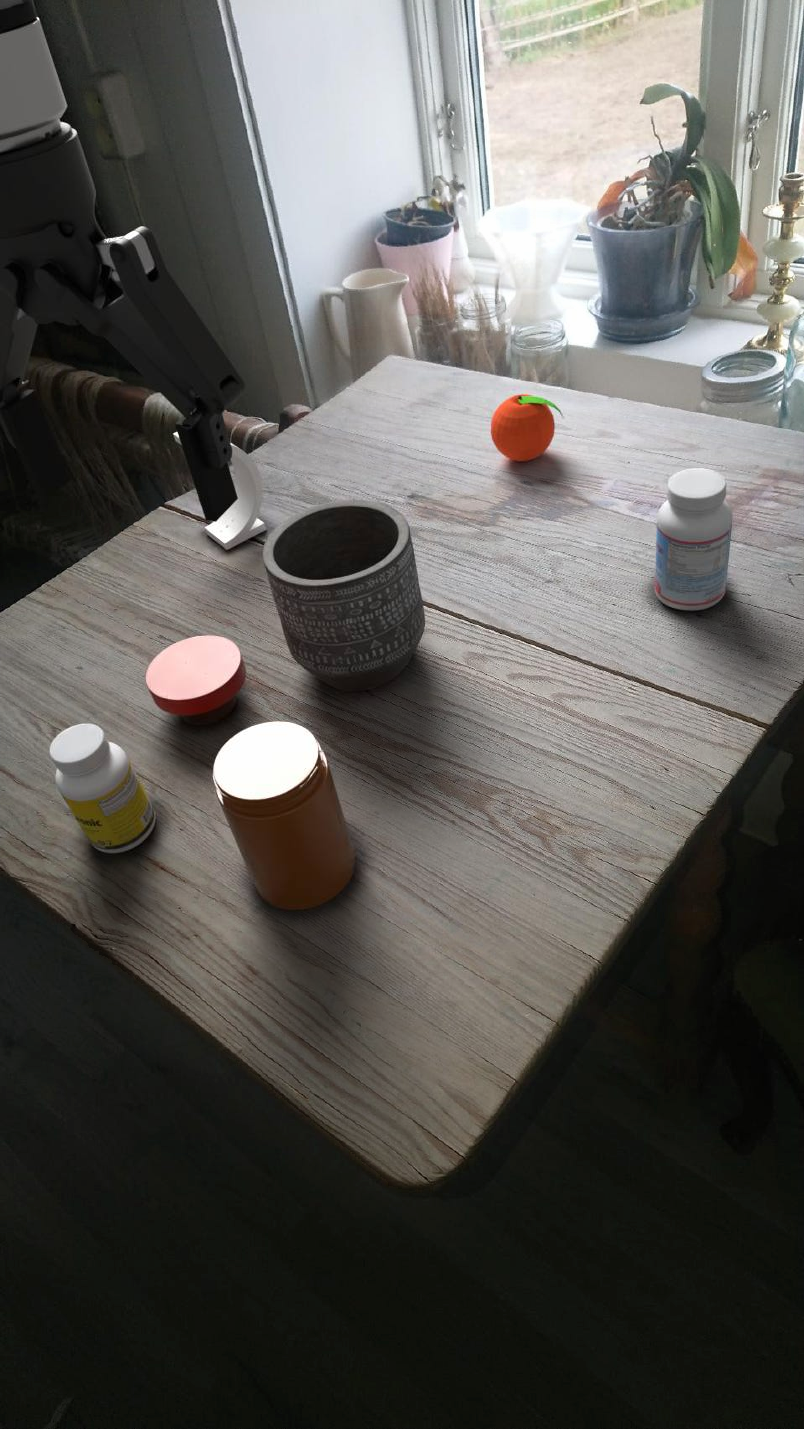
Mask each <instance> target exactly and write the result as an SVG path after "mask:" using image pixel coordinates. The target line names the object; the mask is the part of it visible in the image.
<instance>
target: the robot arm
mask: <svg viewBox="0 0 804 1429" xmlns="http://www.w3.org/2000/svg"><path fill="white" fill-rule="evenodd" d="M67 108H68V104H67V100H66V97H65V95H64V91H63V89H62V84H61V81H60V79H59V76H58V73H57V69H56V66H55V63H54V61H53V57H52V54H51V52H50V49H49V45H48V42H47V38H46V35H45V33H44V30H43V26H42V23H41V20H40V18H39V17H38V13H37V10H36V6H35V3H34V0H0V425H1V427H2V430H3V432H4V433H5V436H6V438H7V441H8V442H9V443H10V445H11V446H12V447H13V449H16V451H17V453H18V456H19V457H20V460H21V462H22V465H23V467H24V469H25V471H26V473H27V475H28V478H29V480H30V483H31V485H32V487H33V489H34V491H35V494H36V495H37V497H38V500H45V501H49V500H50V499H51V498H52V497H53V496H54V495H55V494H57V493H58V492H59V491H60V490H61V489H62V488H64V487H65V486H66V485H67V484H68V483H69V482H71V481H72V480H73V478H72V476H71V473H70V471H69V468H68V466H67V464H66V460H65V459H64V456H63V453H62V451H61V449H60V447H59V445H58V442H57V440H56V437H55V435H54V433H53V430H52V428H51V424H50V423H49V420H48V418H47V416H46V414H45V411H44V409H43V407H42V405H41V401H40V399H39V397H38V395H37V392H36V390H35V389H25V390H22V392H20V391H19V390H20V389H21V388H23V387H24V386H25V385H27V384H28V383H29V381H30V380H29V379H26V377H25V375H26V371H27V368H28V367H27V366H28V363H29V359H30V355H31V351H32V348H33V344H34V340H35V336H36V333H37V330H38V325H48V324H51V323H53V322H57V323H60V324H64V325H65V326H79V325H82V326H83V327H84V328H85V329H86V330H87V331H88V332H89V333H91V334H92V335H94V336H96V337H103V338H105V339H106V340H107V342H109V344H111V345H112V346H113V347H114V349H116V350H117V351H118V353H119V354H121V356H123V357H124V358H125V359H126V360H127V361H128V362H129V363H130V364H131V366H133V367H134V368H135V369H136V370H137V371H138V372H139V374H141V375H142V376H143V377H144V378H145V380H147V381H148V382H149V383H150V385H152V387H154V388H155V389H156V391H158V392H159V394H161V395H162V396H163V397H164V398H165V400H167V401H168V402H169V403H170V404H171V405H172V406H173V408H175V409H176V410H177V411H178V413H179V414H181V415H182V417H181V418H180V419H179V420H178V421H176V422H175V424H174V426H175V429H176V432H177V433H178V436H179V439H180V442H181V444H180V445H181V448H182V451H183V455H184V457H185V461H186V463H187V466H188V470H189V472H190V476H191V479H192V483H193V485H194V489H195V491H196V494H197V497H198V501H199V503H200V506H201V510H202V513H203V516H204V519H205V521H206V522H216V521H217V520H218V519H219V518H220V517H221V516H222V515H223V514H224V513H225V512H226V511H227V510H228V509H229V508H230V507H231V506H232V504H233V503H234V502H235V501H236V500H237V499H238V497H237V494H236V490H235V487H234V483H235V482H234V481H233V476H232V474H231V470H230V467H229V463H228V462H229V461H231V460H230V459H231V458H232V447H231V443H232V442H231V440H230V437H229V433H228V430H227V426H226V422H225V419H224V415H223V413H224V412H225V411H226V410H227V409H229V408H230V407H231V406H232V405H233V404H234V403H235V402H236V401H237V400H239V398H240V397H241V396H243V394H245V392H246V389H247V388H246V383H245V382H244V379H243V378H242V377H241V376H240V374H239V372H238V370H237V369H236V368H235V367H234V365H233V364H232V362H231V360H230V359H229V358H228V356H227V355H226V354H225V352H224V350H223V349H222V348H221V347H220V344H219V343H218V342H217V341H216V338H214V336H213V334H212V333H211V331H210V330H209V329H208V327H207V326H206V324H205V323H204V321H203V320H202V319H201V317H200V316H199V314H198V313H197V311H196V310H195V308H194V306H193V305H192V303H191V302H190V301H189V300H188V298H187V296H186V295H185V294H184V292H183V291H182V289H181V288H180V287H179V285H178V283H177V282H176V281H175V279H174V278H173V276H172V275H171V273H170V271H168V269H167V266H166V263H165V261H164V258H163V256H162V253H161V251H160V249H159V248H160V247H159V246H158V243H157V239H156V238H155V235H154V234H153V232H152V231H151V230H150V229H149V228H148V227H146V226H142V225H141V226H138V227H137V228H135V229H134V230H132V231H130V232H128V233H127V234H126V235H122V236H115V237H110V238H108V237H107V236H106V235H105V234H104V232H103V231H102V228H101V227H100V225H99V224H98V222H97V219H96V215H95V202H96V196H97V191H96V187H95V184H94V180H93V177H92V175H91V171H90V169H89V166H88V162H87V159H86V156H85V153H84V149H83V147H82V144H81V141H80V138H79V135H78V132H77V130H76V129H74V128H72V127H71V125H70V124H69V123H66V122H63V121H61V118H62V117H63V115H64V113H65V112H66V110H67ZM106 297H107V298H108V300H110V301H111V302H110V303H109V304H108V305H106V306H105V307H103V306H104V304H105V301H106V300H105V299H106ZM24 380H25V381H24ZM191 391H192V393H194V394H195V395H194V396H193V394H192V393H191Z"/></svg>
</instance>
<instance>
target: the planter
mask: <svg viewBox="0 0 804 1429" xmlns="http://www.w3.org/2000/svg"><path fill="white" fill-rule="evenodd" d="M410 528H411V527H410V525H409V522H408V520H407V519H406V517H405V516H404V515H403V514H402V513H401V512H400V511H398V510H397V508H394V507H392V506H390V505H388V504H385V503H382V502H378V501H374V500H366V499H343V500H335V501H334V500H333V501H328V502H324V503H319V504H316V505H312V506H310V507H308V508H305V509H302V510H301V511H299V512H297V513H295V514H294V515H292V516H290V517H289V518H287V519H286V520H284V521H283V522H281V523H280V524H279V525H277V527H276V528H274V530H272V532H271V533H270V534H269V535H268V537H267V539H266V540H265V542H264V544H263V547H262V553H261V555H262V556H261V558H262V563H263V567H264V570H265V573H266V576H267V579H268V584H269V587H270V591H271V595H272V598H273V601H274V605H275V608H276V612H277V614H278V616H279V620H280V624H281V629H282V632H283V635H284V639H285V642H286V644H287V648H288V651H289V653H290V655H291V657H292V658H293V659H294V661H295V662H296V663H297V664H299V665H300V666H301V667H302V668H303V669H305V670H306V671H307V672H309V673H310V674H311V675H312V676H314V677H316V678H317V679H319V680H320V681H322V682H323V683H325V684H327V685H329V686H330V687H332V688H334V689H338V690H341V691H347V692H348V691H349V692H361V691H368V690H372V689H376V688H379V687H381V686H383V685H386V684H388V683H389V682H391V681H394V679H395V678H397V677H398V676H399V675H400V674H401V673H402V672H403V671H404V669H405V668H406V666H407V665H408V663H409V661H410V660H411V659H412V657H413V655H414V653H415V652H416V650H417V648H418V646H419V644H420V642H421V640H422V638H423V636H424V632H425V628H426V615H425V608H424V602H423V595H422V592H421V587H420V581H419V573H418V568H417V567H418V566H417V561H416V556H415V550H414V544H413V543H414V542H413V539H412V538H413V537H412V533H411V529H410Z"/></svg>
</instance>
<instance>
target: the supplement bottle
mask: <svg viewBox="0 0 804 1429" xmlns="http://www.w3.org/2000/svg"><path fill="white" fill-rule="evenodd" d="M49 756H50V758H51V760H52V761H53V764H54V766H55V767H56V771H55V778H54V780H55V785H56V787H57V789H58V792H59V793H60V795H61V796H62V798H63V800H64V802H65V803H66V804H67V807H68V808H69V809H70V811H71V813H72V815H73V816H74V817H75V820H76V821H77V823H78V825H79V826H80V828H81V830H82V832H83V833H84V835H85V836H86V838H87V839H88V842H90V844H91V845H92V846H93V847H94V848H95V849H96V850H97V851H100V852H103V853H106V854H119V853H124V852H126V851H129V850H132V849H134V848H135V847H137V846H139V845H140V844H142V843H143V842H144V841H145V840H146V839H147V838H148V837H149V836H150V835H151V833H152V831H153V829H154V827H155V824H156V820H157V819H156V812H155V809H154V806H153V804H152V802H151V800H150V798H149V796H148V795H147V793H146V790H145V789H144V787H143V785H142V782H141V781H140V779H139V777H138V775H137V773H136V771H135V768H134V767H133V765H132V763H131V760H130V758H129V757H128V755H127V754H126V752H125V751H124V749H123V748H122V747H121V746H120V745H118V744H116V743H114V742H112V741H109V740H108V738H107V736H106V734H105V732H104V730H103V729H102V728H101V727H99V726H98V725H96V724H93V723H79V724H75V725H72V726H70V727H68V728H66V729H64V730H62V731H60V733H58V734H57V735H56V736H55V737H54V739H53V740H52V742H51V743H50V747H49Z"/></svg>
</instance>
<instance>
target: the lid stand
mask: <svg viewBox="0 0 804 1429" xmlns="http://www.w3.org/2000/svg"><path fill="white" fill-rule="evenodd" d="M237 700H238V694H236V695H235V696H234V697H232V698H231V699H230V700H229V701H227V702H226V703H224V704H223V705H221V706H219V707H217V708H215V709H213V710H210V711H207V712H204V713H200V714H195V715H179V716H180V718H181V719H182V720H183V721H185V722H186V723H188V724H191V725H196V726H197V725H199V726H203V725H209V724H212V723H215V722H218V721H220V720H222V719H224V718H225V717H227V716H228V715H230V713H231V712H232V711H233V709H234V708H235V707H236V704H237Z"/></svg>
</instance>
